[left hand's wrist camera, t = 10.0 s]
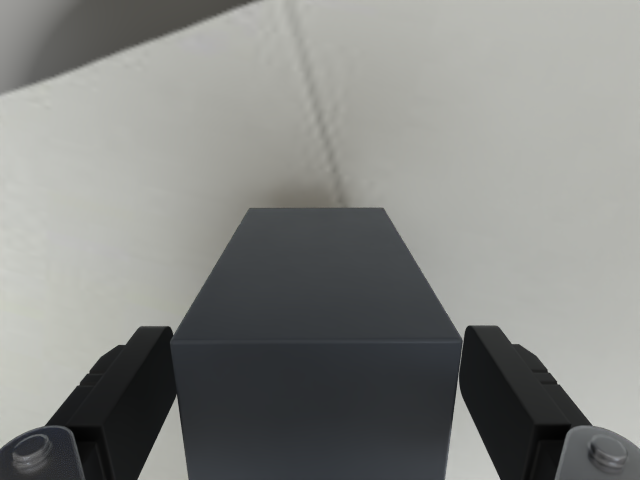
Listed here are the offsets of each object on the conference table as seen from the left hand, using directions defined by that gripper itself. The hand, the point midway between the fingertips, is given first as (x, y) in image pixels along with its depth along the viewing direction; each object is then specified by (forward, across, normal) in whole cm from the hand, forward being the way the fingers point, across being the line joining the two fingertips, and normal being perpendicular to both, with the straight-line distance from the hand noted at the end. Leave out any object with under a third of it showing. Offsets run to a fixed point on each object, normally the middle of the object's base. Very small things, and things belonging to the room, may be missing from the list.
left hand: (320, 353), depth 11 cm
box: (+8, 0, -9) cm, 12 cm away
